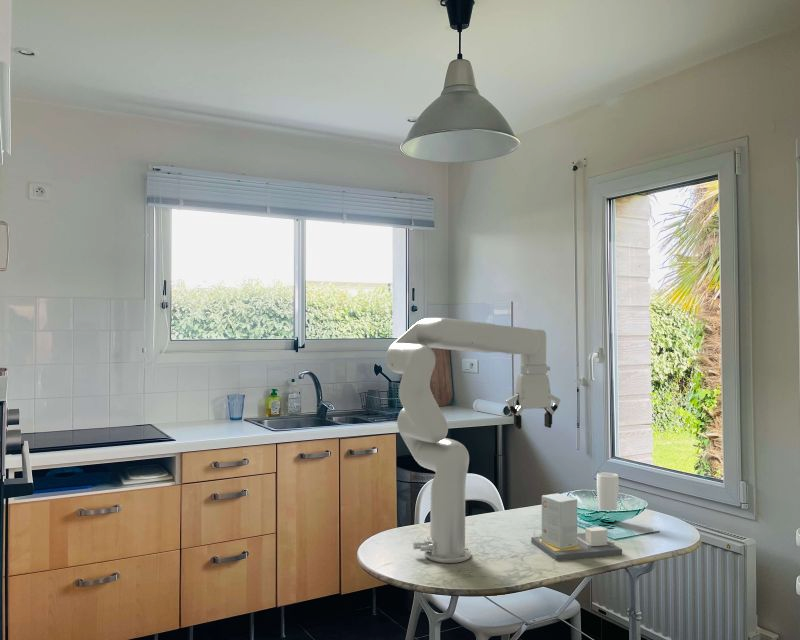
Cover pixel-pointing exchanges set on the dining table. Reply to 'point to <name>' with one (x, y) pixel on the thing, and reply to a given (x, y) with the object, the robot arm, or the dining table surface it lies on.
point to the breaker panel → (577, 549)
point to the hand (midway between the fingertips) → (533, 427)
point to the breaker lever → (596, 536)
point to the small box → (559, 520)
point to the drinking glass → (607, 490)
